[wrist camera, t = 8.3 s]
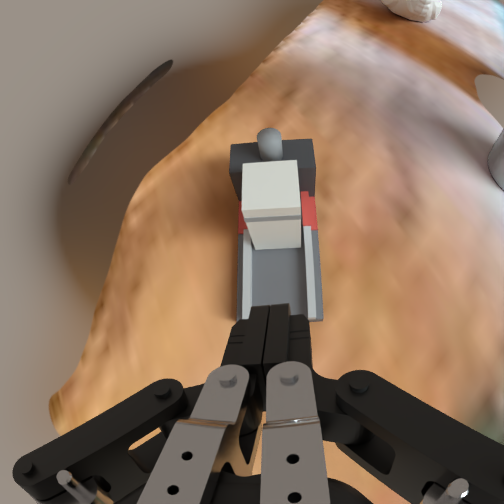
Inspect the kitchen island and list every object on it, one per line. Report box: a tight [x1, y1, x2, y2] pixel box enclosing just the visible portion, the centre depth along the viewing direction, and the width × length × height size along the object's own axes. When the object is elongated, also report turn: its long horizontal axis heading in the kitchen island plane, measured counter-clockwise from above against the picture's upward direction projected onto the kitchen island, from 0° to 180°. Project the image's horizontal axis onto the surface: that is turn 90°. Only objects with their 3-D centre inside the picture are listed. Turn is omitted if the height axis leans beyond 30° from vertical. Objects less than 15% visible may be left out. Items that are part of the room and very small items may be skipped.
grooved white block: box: [242, 160, 301, 250], centre depth 32 cm, size 5×5×9 cm
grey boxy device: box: [229, 128, 323, 322], centre depth 33 cm, size 18×9×10 cm, turn 0°
